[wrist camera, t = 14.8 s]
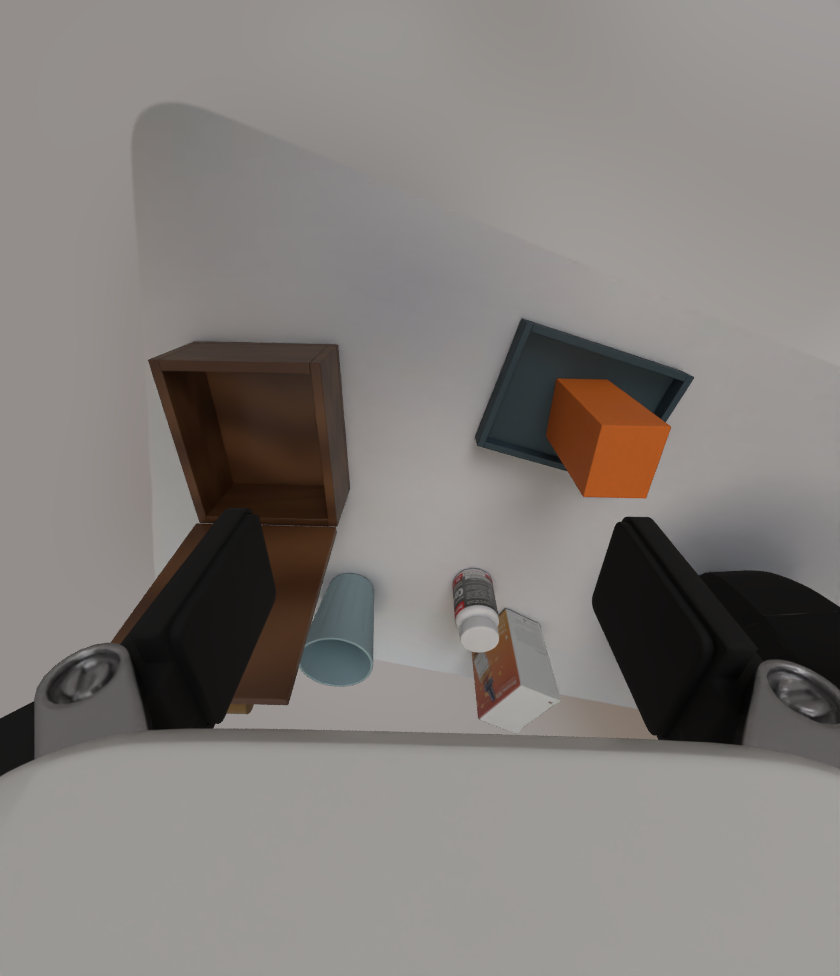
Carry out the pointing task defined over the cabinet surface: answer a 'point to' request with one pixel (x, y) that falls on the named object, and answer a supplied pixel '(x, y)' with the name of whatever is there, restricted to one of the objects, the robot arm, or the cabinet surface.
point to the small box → (514, 675)
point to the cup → (341, 634)
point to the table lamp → (782, 618)
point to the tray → (555, 354)
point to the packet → (605, 438)
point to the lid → (285, 632)
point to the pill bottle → (475, 610)
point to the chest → (258, 428)
